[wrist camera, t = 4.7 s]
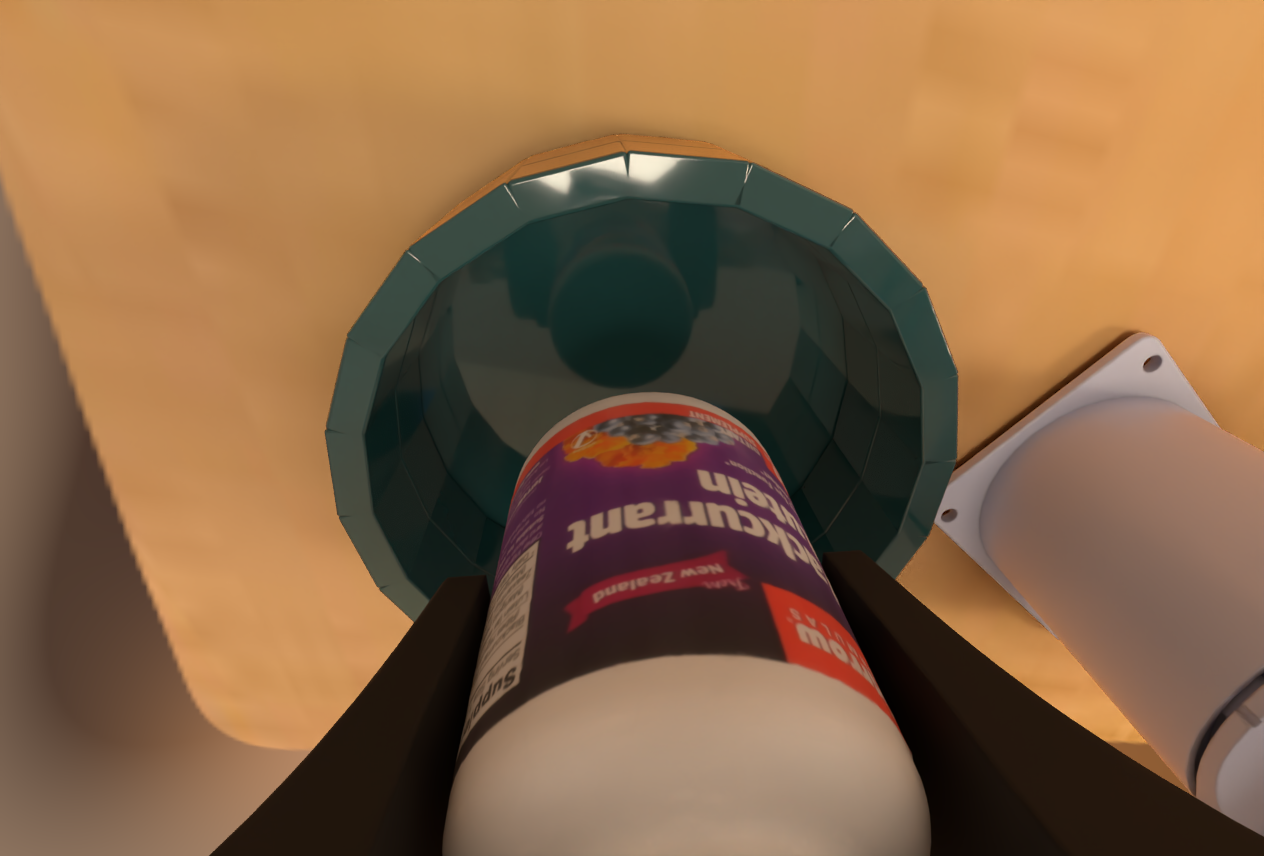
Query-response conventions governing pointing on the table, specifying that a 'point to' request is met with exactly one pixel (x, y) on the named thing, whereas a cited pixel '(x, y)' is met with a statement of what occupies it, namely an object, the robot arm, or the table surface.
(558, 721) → the pill bottle
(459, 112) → the table surface
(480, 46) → the table surface
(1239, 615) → the robot arm
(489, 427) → the pot
